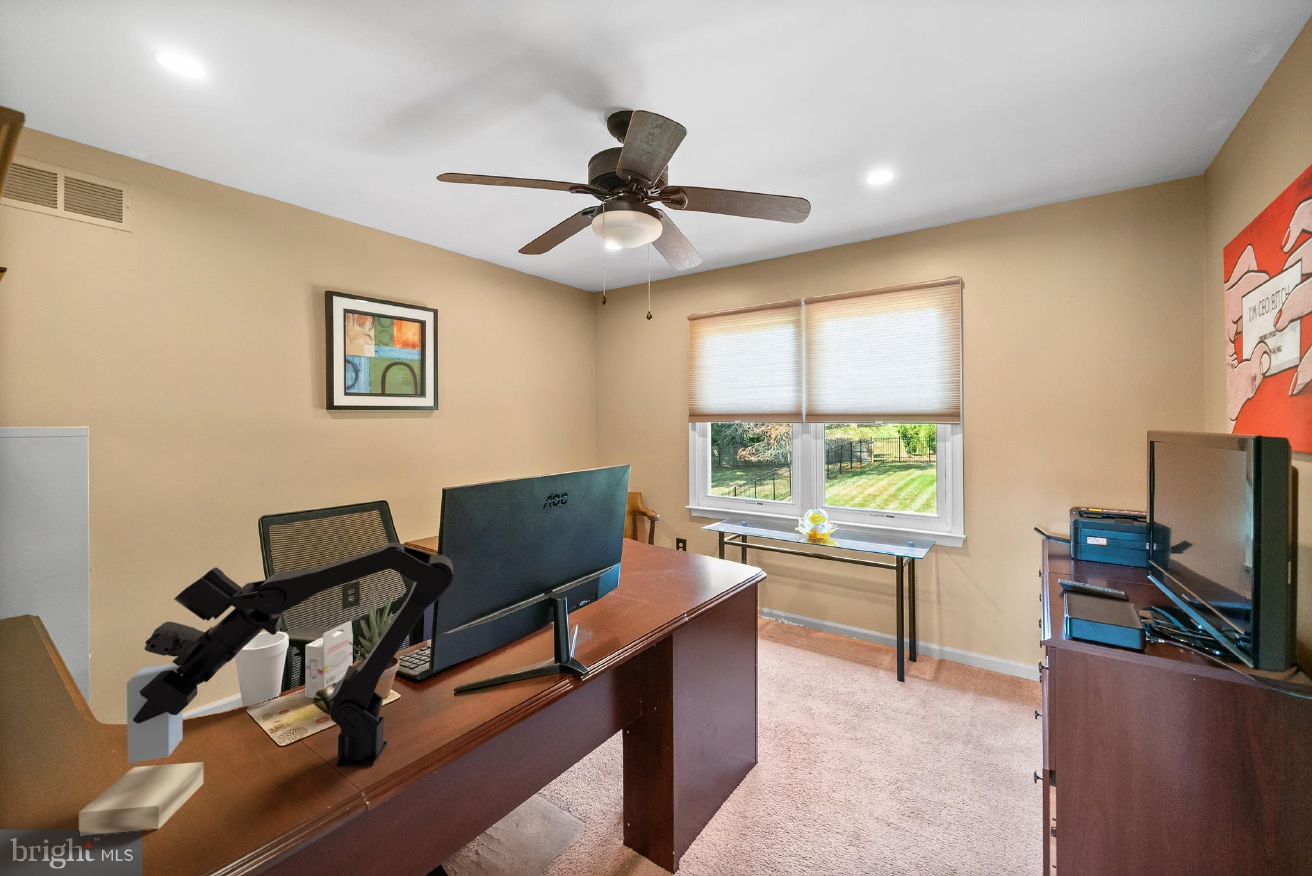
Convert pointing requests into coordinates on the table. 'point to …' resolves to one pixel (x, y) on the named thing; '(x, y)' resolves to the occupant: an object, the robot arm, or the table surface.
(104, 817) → the maple block
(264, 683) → the foam cup
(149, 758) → the slate blue pillar
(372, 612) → the potted plant
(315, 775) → the table surface
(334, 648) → the ink cartridge box
